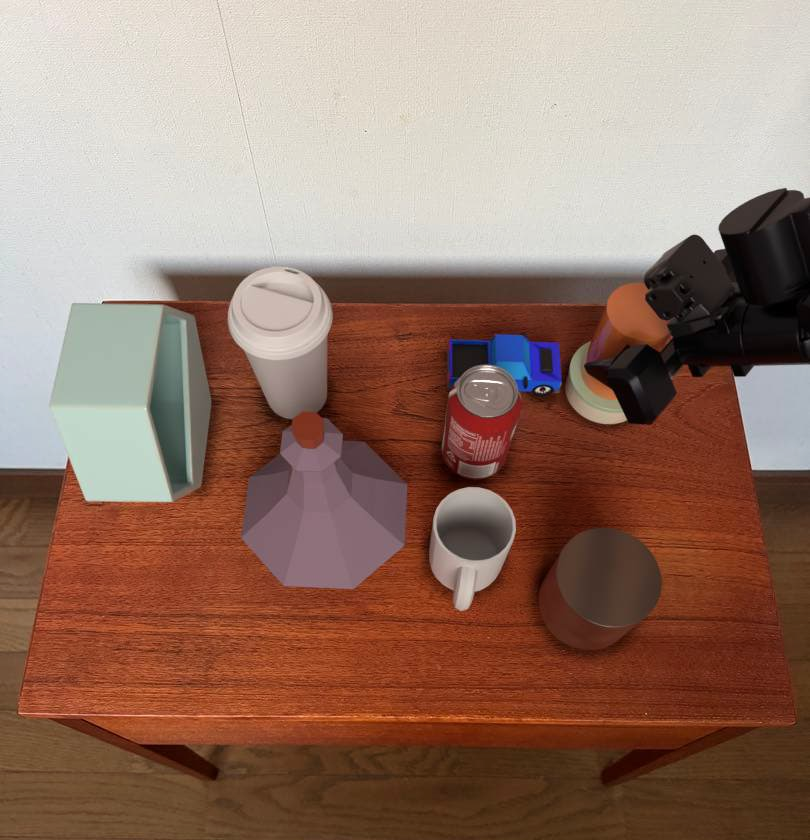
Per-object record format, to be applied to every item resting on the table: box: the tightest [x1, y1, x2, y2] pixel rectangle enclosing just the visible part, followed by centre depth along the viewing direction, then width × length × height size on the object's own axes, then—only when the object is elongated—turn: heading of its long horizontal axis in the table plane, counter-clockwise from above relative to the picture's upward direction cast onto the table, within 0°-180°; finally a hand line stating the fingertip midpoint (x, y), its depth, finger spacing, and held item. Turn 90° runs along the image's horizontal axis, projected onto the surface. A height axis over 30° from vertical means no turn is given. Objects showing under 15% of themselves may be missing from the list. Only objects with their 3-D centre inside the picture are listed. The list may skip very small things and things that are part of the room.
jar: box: [564, 340, 627, 425], centre depth 78 cm, size 9×9×3 cm
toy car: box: [446, 331, 562, 397], centre depth 77 cm, size 7×12×5 cm, turn 89°
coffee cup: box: [227, 265, 334, 421], centre depth 72 cm, size 10×10×15 cm
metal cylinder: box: [537, 526, 663, 651], centre depth 66 cm, size 9×9×8 cm
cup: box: [428, 486, 517, 612], centre depth 67 cm, size 7×10×9 cm
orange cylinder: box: [581, 282, 675, 400], centre depth 72 cm, size 7×7×10 cm
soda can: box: [441, 365, 523, 481], centre depth 70 cm, size 7×7×12 cm
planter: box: [49, 302, 212, 503], centre depth 68 cm, size 17×8×21 cm
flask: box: [240, 412, 408, 590], centre depth 63 cm, size 16×16×20 cm
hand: (613, 339), depth 73 cm, fingers open, 9 cm apart
